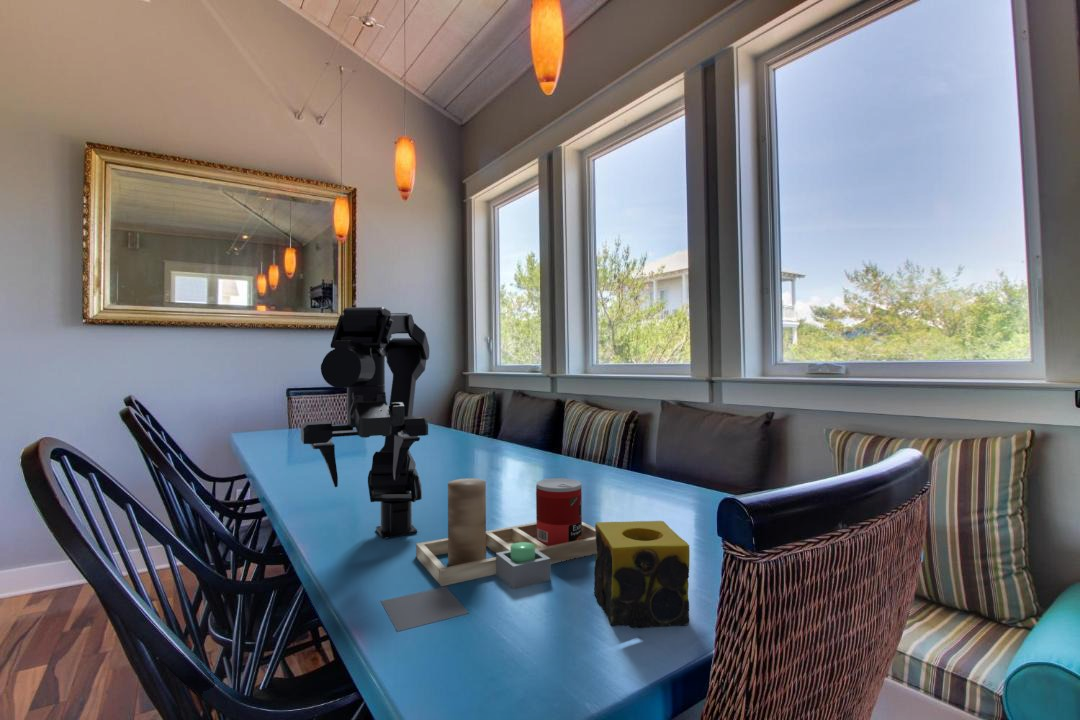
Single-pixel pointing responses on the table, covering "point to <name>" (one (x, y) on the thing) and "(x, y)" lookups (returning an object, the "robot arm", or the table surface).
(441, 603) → the rubber mat
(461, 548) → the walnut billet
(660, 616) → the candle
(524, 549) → the button
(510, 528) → the birch frame
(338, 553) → the table surface
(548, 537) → the canned food
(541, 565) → the grey square box
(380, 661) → the table surface
